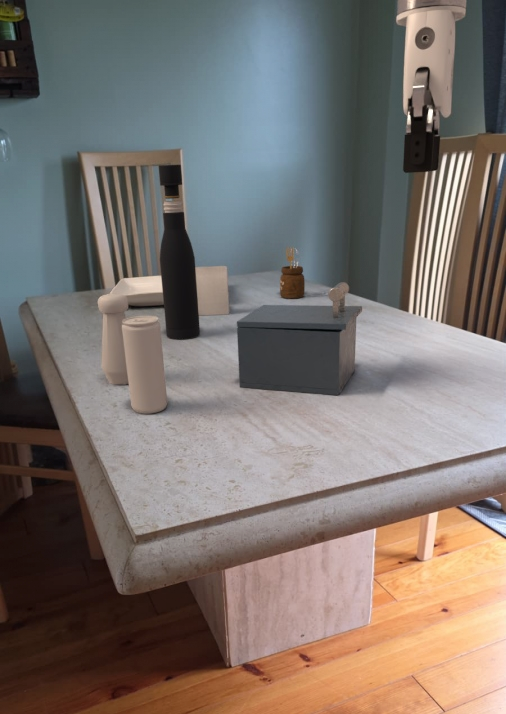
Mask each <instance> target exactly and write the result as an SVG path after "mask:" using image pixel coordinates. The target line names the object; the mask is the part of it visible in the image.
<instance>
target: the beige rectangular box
mask: <svg viewBox="0 0 506 714" xmlns="http://www.w3.org/2000/svg"><path fill="white" fill-rule="evenodd" d="M195 269H196V284H197V298H198V312H199V316H223V315H224V316H225V315H230V296H229V295H230V294H229V279H228V266H227V265H217V266H216V265H215V266H195Z"/></svg>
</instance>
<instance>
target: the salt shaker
mask: <svg viewBox="0 0 506 714" xmlns="http://www.w3.org/2000/svg"><path fill="white" fill-rule="evenodd" d="M97 308H98V311H99V312H100V313H102V333H101V334H102V335H101V337H102V338H101V342H102V343H101V363H100V365H101V371H102V373H103V374H104V376H105V377H106V380H107V381H108V383H110V384H112V385H114V386H115V385H129V382H128V374H127V365H126V357H125V349H124V340H123V332H122V325H123V323H122V321H123V320H124V319H126V318H127V316H126V314H125V313H126V311H127V310H128V309H129V304H128V300H127V298H126V297H125V296H124V295H122V294H110V293H106V294H103V295H100V296H99V298H98V299H97Z"/></svg>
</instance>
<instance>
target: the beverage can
mask: <svg viewBox="0 0 506 714" xmlns="http://www.w3.org/2000/svg"><path fill="white" fill-rule="evenodd" d="M122 323H123V325H122V332H123V340H124V349H125V357H126V365H127V374H128V382H129V383H128V390H129V399H130V405H131V408H132V409H133V411H135V412H137V413H138V414H144V415H147V414H148V415H149V414H156V413H160V412H162V411H164V410H165V409H166V407H167V405H168V395H167V394H168V393H167V383H166V382H167V381H166V374H165V362H164V353H163V352H164V351H163V341H162V331H161V324H160V322H159V317H157V316H153V315H137V316H131V317H126V319H124V320H123V321H122Z"/></svg>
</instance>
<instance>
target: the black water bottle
mask: <svg viewBox="0 0 506 714" xmlns="http://www.w3.org/2000/svg"><path fill="white" fill-rule="evenodd" d="M158 174H159V175H158V177H159V185H160V186H161V187H162V186H163V189H164V199H165V200H166V199H167V200H166V201H163V211H164V212H163V213H162V217H163V218H162V219H163V234H162V238H161V242H160V250H159V268H160V276H161V279H162V290H163V301H164V305H163V311H164V321H165V322H164V323H165V331H166V333H165V334H166V337H167V338H169V339H171V340H191V339H194V338H197V337H199V336H200V335H201V330H200V329H201V328H200V315H199V312H198V298H197V284H196V269H195V267H196V257H195V253H194V249H193V245H192V242H191V239H190V237H189V234H188V232H187V229H186V220H185V219H186V218H185V212H184V211H183V207H182V205H183V203H182V200H172V199H179V198H181V196H180V189H179V186H183V175H182V165H181V164H161V165H158ZM170 199H171V200H170Z"/></svg>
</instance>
